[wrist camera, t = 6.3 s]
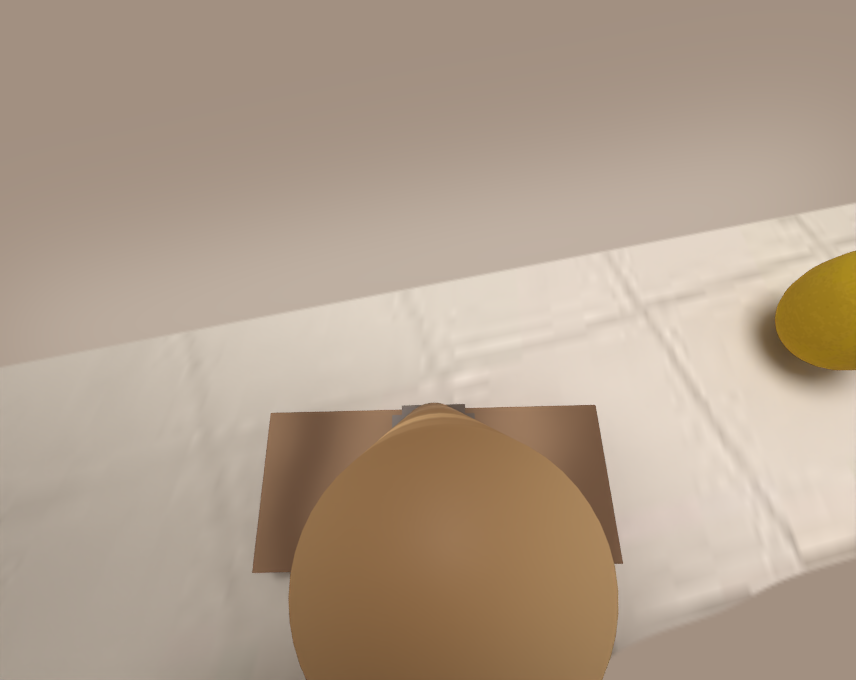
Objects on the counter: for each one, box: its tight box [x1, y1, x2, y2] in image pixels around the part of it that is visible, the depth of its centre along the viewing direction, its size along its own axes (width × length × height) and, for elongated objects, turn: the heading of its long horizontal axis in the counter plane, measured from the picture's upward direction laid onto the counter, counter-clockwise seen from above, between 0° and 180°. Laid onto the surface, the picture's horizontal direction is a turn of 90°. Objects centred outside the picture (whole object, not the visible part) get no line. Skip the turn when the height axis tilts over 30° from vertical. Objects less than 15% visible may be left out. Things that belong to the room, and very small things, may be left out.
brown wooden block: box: [252, 405, 623, 573], centre depth 22 cm, size 16×7×3 cm, turn 91°
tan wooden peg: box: [289, 403, 618, 680], centre depth 12 cm, size 3×3×17 cm
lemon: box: [775, 251, 856, 370], centre depth 22 cm, size 6×6×8 cm
